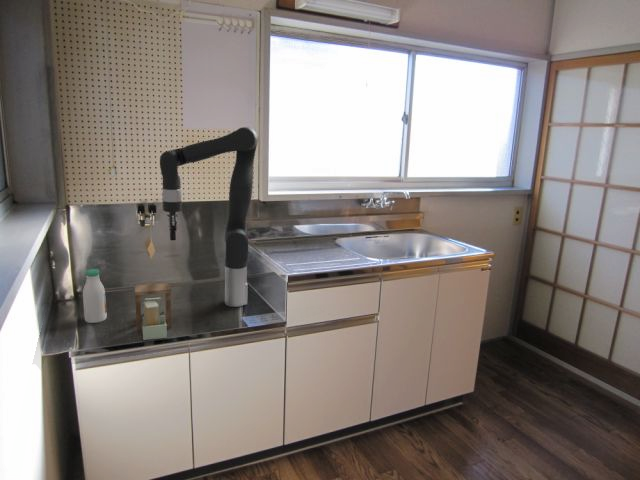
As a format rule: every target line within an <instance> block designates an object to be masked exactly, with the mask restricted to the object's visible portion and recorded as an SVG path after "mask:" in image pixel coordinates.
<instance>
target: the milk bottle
mask: <svg viewBox="0 0 640 480" xmlns="http://www.w3.org/2000/svg"><path fill="white" fill-rule="evenodd" d="M85 277H86V281H85V284H84V286H83V289H82V301H83V317H84V321H85V322H86V323H89V324H95V323H96V324H98V323H102V322H103V321H105V320H106V319H107V317H108V316H107V315H108V314H107V299H106V290H105V287H104V285H103V283H102V282H101V279H100V270H99V269H97V268H91V269H87V270H85Z"/></svg>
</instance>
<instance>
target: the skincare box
mask: <svg viewBox="0 0 640 480" xmlns="http://www.w3.org/2000/svg"><path fill="white" fill-rule="evenodd" d="M143 313H144V326H154V325H159V305H158V304H157V302H156V301H155V300H151V301H145V300H144V301H143Z"/></svg>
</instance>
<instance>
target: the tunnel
mask: <svg viewBox="0 0 640 480" xmlns="http://www.w3.org/2000/svg"><path fill="white" fill-rule="evenodd" d="M171 292H172V289H171V283H170V282H166V283H163V282H162V283H152V284H151V283H149V284H139V285H138V284H137V285H134V296H135V298H134V301H135V315H136V317H135V319H136V332H137V333H138V332H143V327H142V307H141V305H142V304H141V303H142V302H141V296H144V295H157V294H164V295H165V317H166V324H167V330H168V329H172V327H173V326H172V324H173V323H172V293H171Z"/></svg>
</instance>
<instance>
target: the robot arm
mask: <svg viewBox="0 0 640 480" xmlns="http://www.w3.org/2000/svg"><path fill="white" fill-rule="evenodd" d="M258 142H259V137H258V133H257V132H256V131H255V129H253V128H252V127H248V126H244V127H240V128H238V129H237V130H234V131H232V132H230V133H228V134H225V135H224V136H221V137H217V138H214V139H210V140H209V139H208V140H204V141H201V142H200V141H199V142H196V143H193V144H189V145H187V146H184V147H180V148H174V149H170V150H167V151H164V152H163V153H162V154H161V155H160V157H159V167H160V173H161V176H162V191H161V193H162V195H161V196H162V200H161V201H162V202H161V203H162V211H163V212H165V213H168V214H167V225H168V229H169V230H168V231H169V240H170V241H176V238H177V236H176V232H177V227H178V217H179V216H178V214H177V213H179V212H181V211H183V210H182V203H183V202H182V189H181V188H182V187H181V186H182V185H181V184H182V183H181V177H180V175H179V171H178V169H179V168H178V167H180V166H183V165H187V164H192V163H197V162H201V161H205V160H207V159H211V158H213V157H217V156H218V155H222V154H226V153H230V152H236V154H235V155H236V156H235V163H234V167H233V170H232V173H231V178H230V181H229V182H230V183H229V191H228V192H229V193H228V219H227V225H226V230H225V235H224V243H225V259H224V304H225V305H226V306H228V307H230V308H231V307H232V308H237V307H242V306H245V305H246V306H247V305H248V288H249V287H248V282H247V277H248V276H247V275H248V274H247V273H248V272H247V271H248V269H247V268H248V260H249V259H248V258H249V239H248V236H247V233H246V224H247V223H246V222H247V221H246V220H247V214H248V212H249V209H250V205H251V201H252V196H253V195H252V194H253V184H254V182H253V180H254V161H255V157H256V156H255V155H256V151H257V146H258Z"/></svg>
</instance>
